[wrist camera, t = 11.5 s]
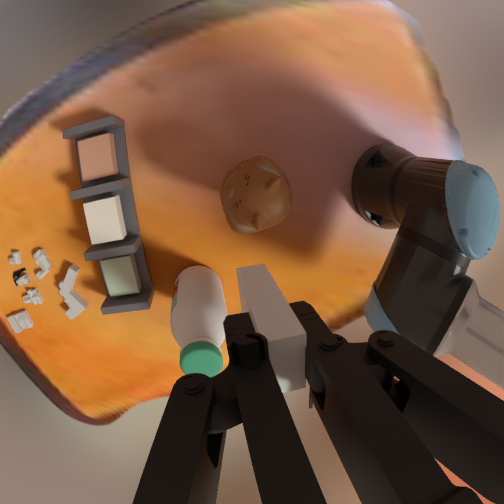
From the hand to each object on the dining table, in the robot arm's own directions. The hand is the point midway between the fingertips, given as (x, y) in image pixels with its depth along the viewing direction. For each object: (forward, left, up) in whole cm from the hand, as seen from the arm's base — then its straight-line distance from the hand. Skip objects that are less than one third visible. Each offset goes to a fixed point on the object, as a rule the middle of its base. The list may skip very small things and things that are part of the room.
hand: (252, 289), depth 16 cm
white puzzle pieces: (+36, +7, -30) cm, 47 cm away
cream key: (+17, -1, -27) cm, 31 cm away
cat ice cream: (-4, -2, -30) cm, 30 cm away
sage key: (+17, +8, -28) cm, 34 cm away
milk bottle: (+5, +13, -30) cm, 33 cm away
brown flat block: (+17, -10, -28) cm, 34 cm away
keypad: (+17, -1, -29) cm, 34 cm away
